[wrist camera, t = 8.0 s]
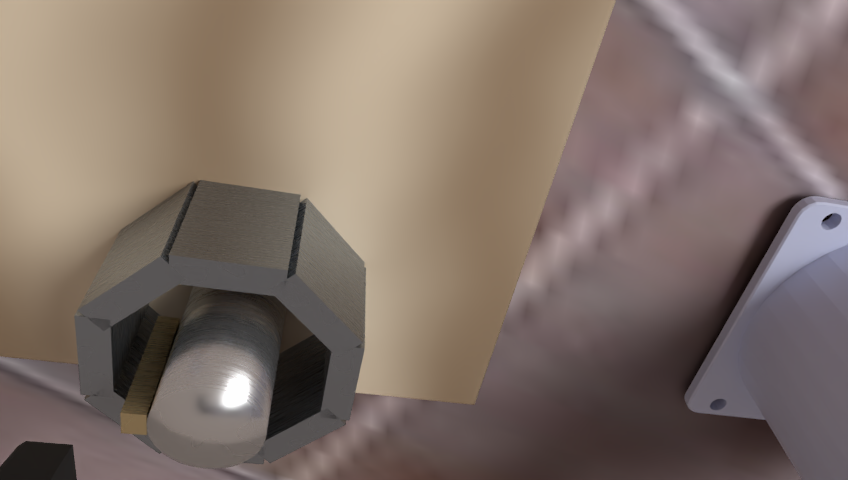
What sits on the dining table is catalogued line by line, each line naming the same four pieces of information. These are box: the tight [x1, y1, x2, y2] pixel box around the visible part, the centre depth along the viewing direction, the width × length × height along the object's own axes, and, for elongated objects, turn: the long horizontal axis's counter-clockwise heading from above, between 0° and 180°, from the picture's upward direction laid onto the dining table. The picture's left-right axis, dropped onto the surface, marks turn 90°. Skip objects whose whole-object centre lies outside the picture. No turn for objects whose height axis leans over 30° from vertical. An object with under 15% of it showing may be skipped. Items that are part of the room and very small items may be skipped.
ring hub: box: [74, 180, 366, 464], centre depth 17 cm, size 6×6×3 cm
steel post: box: [120, 286, 286, 469], centre depth 16 cm, size 3×2×4 cm
